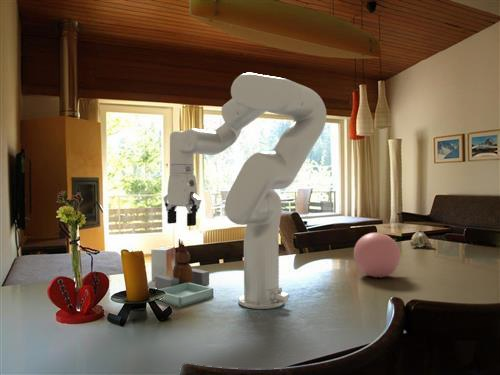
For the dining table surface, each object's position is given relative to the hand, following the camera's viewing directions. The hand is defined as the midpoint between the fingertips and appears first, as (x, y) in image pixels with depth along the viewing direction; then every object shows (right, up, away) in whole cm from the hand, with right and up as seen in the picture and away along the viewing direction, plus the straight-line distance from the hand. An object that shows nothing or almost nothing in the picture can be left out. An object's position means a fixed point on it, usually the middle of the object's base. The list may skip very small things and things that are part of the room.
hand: (181, 224), depth 127 cm
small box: (-8, -20, +11) cm, 24 cm away
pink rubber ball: (+68, -20, +13) cm, 72 cm away
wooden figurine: (0, -20, 0) cm, 20 cm away
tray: (+3, -20, -13) cm, 24 cm away
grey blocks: (0, -20, 0) cm, 20 cm away
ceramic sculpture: (+108, -19, +75) cm, 133 cm away
